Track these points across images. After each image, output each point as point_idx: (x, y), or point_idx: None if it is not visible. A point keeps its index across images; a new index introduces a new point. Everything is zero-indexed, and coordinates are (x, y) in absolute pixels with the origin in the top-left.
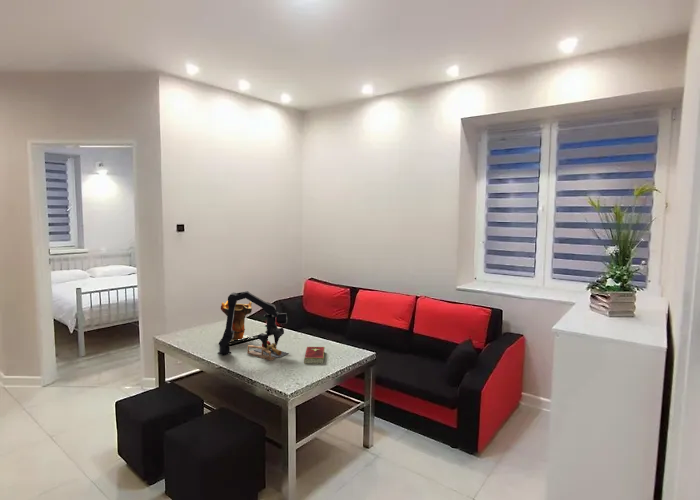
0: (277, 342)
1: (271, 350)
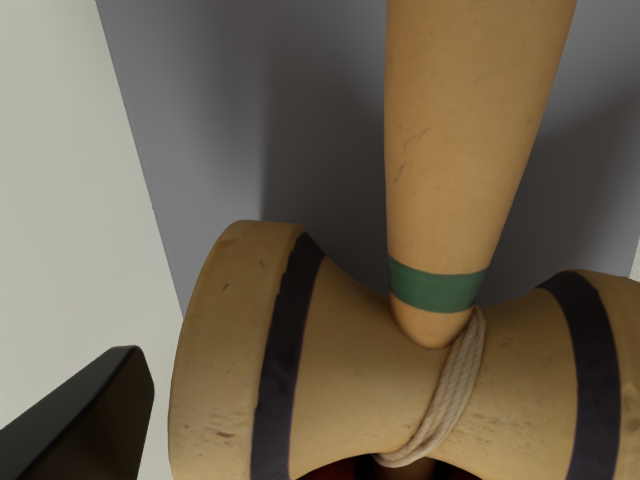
0: (29, 425)
1: None
